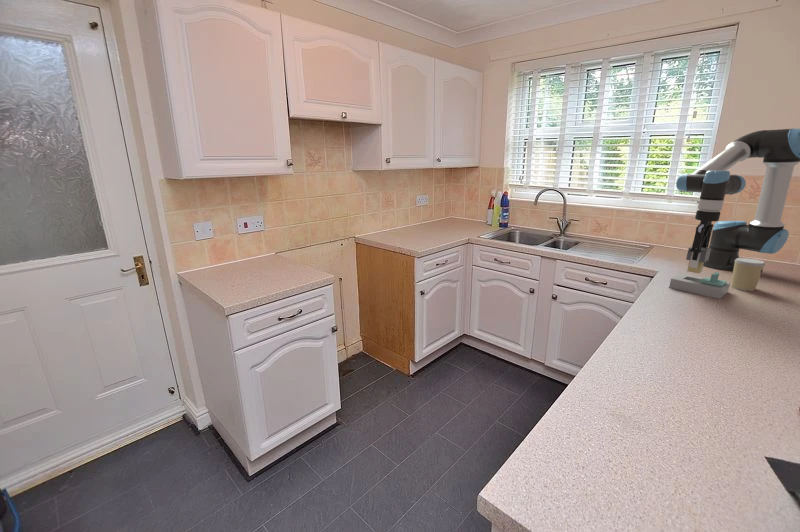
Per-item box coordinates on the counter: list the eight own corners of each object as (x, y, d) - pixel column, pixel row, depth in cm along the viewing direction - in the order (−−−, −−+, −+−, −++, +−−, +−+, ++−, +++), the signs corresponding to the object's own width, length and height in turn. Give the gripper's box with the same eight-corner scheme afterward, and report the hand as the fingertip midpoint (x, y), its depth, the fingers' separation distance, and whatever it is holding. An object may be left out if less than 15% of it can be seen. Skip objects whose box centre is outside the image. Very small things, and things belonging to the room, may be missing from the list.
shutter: (705, 278, 156) (707, 270, 155) (726, 283, 151) (728, 274, 149) (699, 282, 152) (702, 273, 151) (721, 286, 146) (724, 277, 145)
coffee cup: (763, 292, 153) (771, 264, 149) (737, 290, 154) (744, 262, 151) (747, 284, 161) (755, 258, 158) (723, 283, 163) (730, 257, 160)
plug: (688, 268, 159) (693, 245, 156) (705, 271, 155) (711, 248, 152) (683, 271, 156) (688, 247, 153) (701, 274, 151) (706, 250, 148)
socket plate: (678, 281, 165) (680, 273, 164) (727, 292, 153) (730, 283, 152) (669, 287, 158) (671, 278, 157) (719, 298, 146) (722, 289, 144)
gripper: (704, 207, 157) (692, 260, 163) (689, 211, 145) (677, 268, 152) (727, 209, 151) (713, 264, 157) (713, 213, 140) (699, 272, 146)
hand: (695, 266), depth 155 cm, fingers closed on plug, 6 cm apart
